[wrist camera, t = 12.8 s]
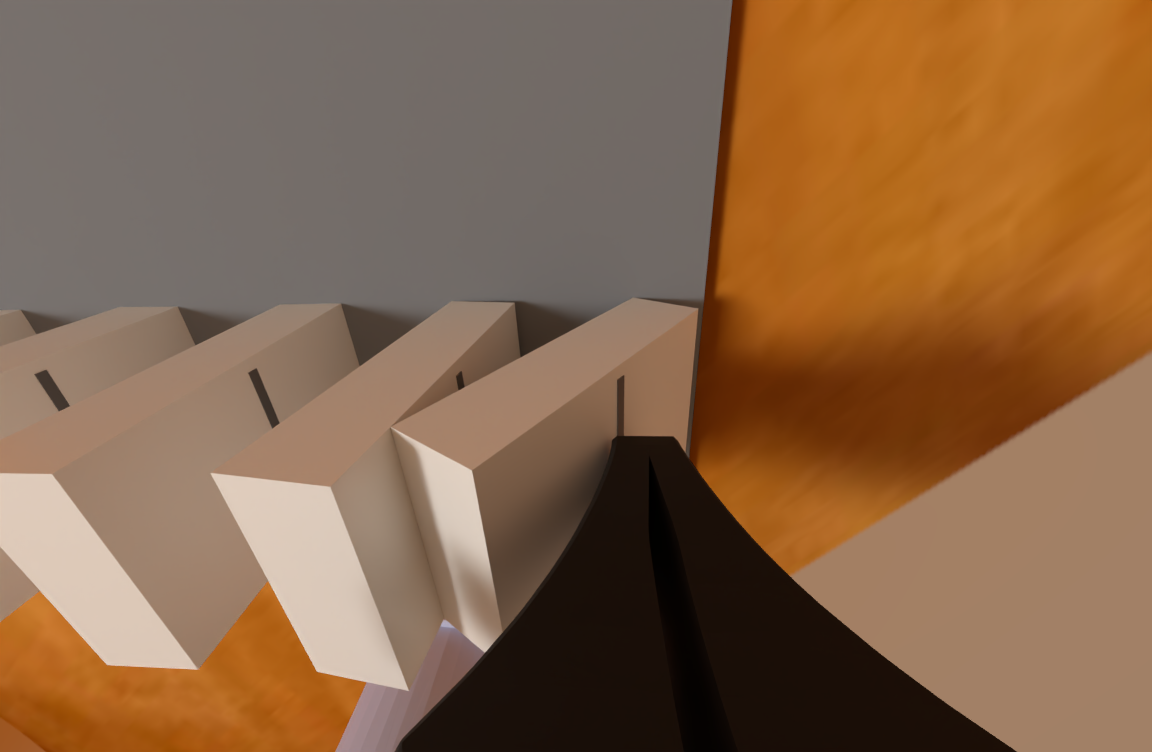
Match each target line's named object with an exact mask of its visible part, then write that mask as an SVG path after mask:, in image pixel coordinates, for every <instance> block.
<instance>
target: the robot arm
mask: <svg viewBox="0 0 1152 752" xmlns="http://www.w3.org/2000/svg"><path fill="white" fill-rule="evenodd" d="M336 752H1016V751H1015V750H1013V749H1012V748H1011V747H1009V746H1008V745H1006V744H1005V743H1003V742H1002V741H1000V740H999V739H997V738H996V737H995V736H993V735H992V734H990V733H989V732H987V731H986V730H984V729H983V728H981V727H980V726H978V725H977V724H976V723H974V722H972V721H971V720H970V719H968V718H966V717H965V716H964V715H962V714H961V713H959V712H958V711H956V710H955V709H953V708H952V707H951V706H949V705H948V704H946V703H945V702H944V701H942V700H941V699H939V698H938V697H937V696H935V695H934V694H933V693H931V692H930V691H929V690H927V689H926V688H925V687H923V686H922V685H921V684H919V683H918V682H917V681H915V680H914V679H913V678H911V677H910V676H909V675H907V674H906V673H904V672H903V671H902V670H901V669H899V668H898V667H897V666H895V665H894V664H893V663H891V662H890V661H889V660H887V659H886V658H885V657H884V656H882V655H881V654H880V653H878V652H877V651H876V650H875V649H873V648H872V647H871V646H870V645H868V644H867V643H866V642H865V641H864V640H862V639H861V638H860V637H859V636H858V635H856V634H855V633H854V632H853V631H852V630H850V629H849V628H848V627H847V626H846V625H844V624H843V623H842V622H841V621H840V620H838V619H837V618H836V617H835V616H833V615H832V614H831V613H830V612H829V611H828V610H826V609H825V608H824V607H823V606H822V605H820V604H819V603H818V602H817V601H816V600H815V599H814V598H813V597H812V596H810V595H809V594H808V593H807V592H806V591H805V590H804V589H803V588H802V587H801V586H799V585H798V584H797V583H796V582H795V581H794V580H793V579H792V578H791V577H790V576H789V575H788V574H787V573H786V572H785V571H784V570H783V569H782V568H781V567H780V566H779V565H778V564H777V563H776V562H775V561H774V560H773V559H772V558H771V557H770V556H769V555H768V554H767V553H766V552H765V551H764V550H763V549H762V548H761V547H760V546H759V545H758V544H757V543H756V542H755V540H754V539H753V538H752V537H751V536H750V535H749V534H748V533H747V532H746V530H745V529H744V528H743V527H742V526H741V525H740V524H739V523H738V521H737V520H736V519H735V518H734V517H733V516H732V514H731V513H730V512H729V511H728V510H727V508H726V507H725V506H724V505H723V503H722V502H721V501H720V500H719V498H718V497H717V496H716V495H715V493H714V492H713V491H712V489H711V488H710V487H709V486H708V484H707V483H706V482H705V480H704V479H703V478H702V476H701V475H700V473H699V472H698V471H697V469H696V468H695V466H694V465H693V464H692V462H691V461H690V459H689V458H688V456H687V455H686V453H685V452H684V450H683V448H682V447H681V445H680V443H679V442H678V440H677V439H676V438H675V437H674V436H616V437H615V438H614V439H613V440H612V444H611V450H610V454H609V458H608V461H607V464H606V467H605V470H604V473H603V475H602V478H601V480H600V482H599V485H598V487H597V489H596V491H595V494H594V496H593V498H592V500H591V502H590V504H589V506H588V508H587V510H586V512H585V514H584V516H583V518H582V519H581V521H580V523H579V525H578V527H577V529H576V531H575V532H574V534H573V536H572V538H571V539H570V541H569V543H568V544H567V546H566V547H565V549H564V551H563V552H562V554H561V555H560V557H559V558H558V560H557V561H556V563H555V564H554V566H553V567H552V569H551V570H550V572H549V573H548V575H547V576H546V578H545V579H544V580H543V582H542V583H541V584H540V586H539V587H538V588H537V590H536V591H535V593H534V594H533V595H532V597H531V598H530V599H529V601H528V602H527V603H526V605H525V606H524V607H523V608H522V610H521V611H520V612H519V614H518V615H517V616H516V617H515V618H514V620H513V621H512V622H511V623H510V624H509V626H508V627H507V628H506V629H505V630H504V631H503V632H502V634H501V635H500V636H499V637H498V638H497V639H496V641H495V642H494V643H493V644H492V645H491V646H490V648H489V649H488V650H487V651H486V652H483V651H482V650H481V649H480V648H479V647H477V646H476V645H475V644H474V643H473V642H471V641H470V640H469V639H468V638H467V637H466V636H464V635H463V634H462V633H461V632H460V631H458V630H457V629H456V628H455V627H454V626H453V625H451V624H450V623H449V622H448V621H447V620H445V619H444V620H443V622H442V624H441V626H440V628H439V630H438V632H437V634H436V636H435V638H434V640H433V643H432V645H431V647H430V649H429V651H428V653H427V655H426V657H425V659H424V661H423V663H422V665H421V667H420V669H419V671H418V673H417V676H416V678H415V680H414V682H413V684H412V686H411V688H410V690H409V691H407V690H402V689H397V688H393V687H388V686H383V685H378V684H373V683H369V682H367V683H366V685H365V687H364V690H363V692H362V694H361V696H360V699H359V701H358V703H357V705H356V707H355V710H354V712H353V714H352V716H351V718H350V721H349V723H348V725H347V727H346V730H345V732H344V734H343V736H342V738H341V741H340V743H339V745H338V747H337V749H336Z"/></svg>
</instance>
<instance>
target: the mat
mask: <svg viewBox="0 0 1152 752" xmlns="http://www.w3.org/2000/svg"><path fill="white" fill-rule="evenodd" d="M731 10H732V0H0V310H21V311H22V313H23V314H24V316H25V317H26V319H27V320H28V322H29V323H30V325H31V326H32V328H33V330H34V331H35V333H36V334H39V333H42V332H45V331H49V330H52V329H55V328H58V327H61V326H64V325H67V324H70V323H73V322H76V321H79V320H82V319H85V318H88V317H91V316H94V315H97V314H100V313H103V312H106V311H109V310H112V309H115V308H118V307H178V309H179V311H180V313H181V315H182V317H183V320H184V322H185V324H186V326H187V328H188V330H189V333H190V335H191V337H192V339H193V341H194V343H195V345H197V344H199V343H202V342H204V341H206V340H208V339H210V338H212V337H214V336H216V335H218V334H220V333H222V332H224V331H226V330H228V329H230V328H232V327H235V326H237V325H239V324H241V323H243V322H245V321H247V320H249V319H251V318H253V317H255V316H257V315H259V314H261V313H263V312H265V311H268V310H270V309H272V308H274V307H276V306H278V305H285V304H335V303H341V305H342V309H343V312H344V316H345V319H346V322H347V326H348V329H349V332H350V336H351V339H352V342H353V346H354V349H355V353H356V356H357V359H358V363H359V366H361V365H363V364H364V363H365V362H367V361H368V360H370V359H371V358H372V357H374V356H375V355H377V354H378V353H379V352H381V351H382V350H384V349H385V348H386V347H388V346H389V345H391V344H392V343H393V342H395V341H396V340H398V339H399V338H400V337H402V336H403V335H405V334H406V333H407V332H409V331H410V330H412V329H413V328H414V327H416V326H417V325H419V324H420V323H421V322H423V321H424V320H426V319H427V318H429V317H430V316H431V315H433V314H434V313H436V312H437V311H438V310H440V309H441V308H443V307H444V306H445V305H447V304H448V303H450V302H451V301H466V302H510V303H515V312H516V321H517V330H518V339H519V348H520V357H523V356H524V355H526V354H528V353H530V352H532V351H534V350H536V349H538V348H539V347H541V346H543V345H545V344H547V343H549V342H551V341H553V340H554V339H556V338H558V337H560V336H562V335H564V334H566V333H568V332H569V331H571V330H573V329H575V328H577V327H579V326H581V325H583V324H584V323H586V322H588V321H590V320H592V319H594V318H596V317H598V316H599V315H601V314H603V313H605V312H607V311H609V310H611V309H613V308H614V307H616V306H618V305H620V304H622V303H624V302H626V301H628V300H629V299H631V298H639V299H645V300H651V301H657V302H663V303H668V304H674V305H680V306H686V307H692V308H698V318H697V329H696V340H695V351H694V363H693V374H692V385H691V396H690V407H689V418H688V429H687V440H686V452H685V453H686V455H687V456H688V458H689V453H690V443H691V432H692V422H693V411H694V400H695V390H696V379H697V369H698V358H699V348H700V337H701V327H702V316H703V305H704V295H705V284H706V274H707V263H708V253H709V242H710V231H711V221H712V210H713V200H714V189H715V179H716V168H717V157H718V147H719V136H720V126H721V115H722V105H723V94H724V83H725V73H726V62H727V52H728V41H729V31H730V20H731Z"/></svg>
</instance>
